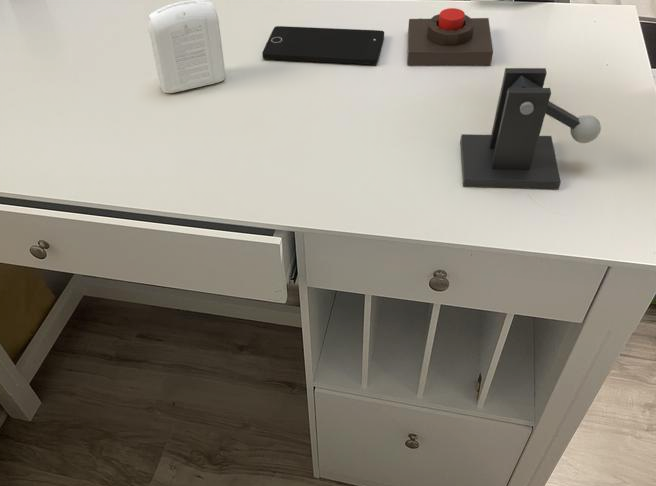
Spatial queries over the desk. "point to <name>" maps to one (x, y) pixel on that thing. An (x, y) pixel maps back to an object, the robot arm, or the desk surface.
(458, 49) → the brown button base
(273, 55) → the cell phone
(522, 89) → the pivot bracket stand
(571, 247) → the desk surface
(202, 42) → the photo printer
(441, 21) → the power button
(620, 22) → the desk surface
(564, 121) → the lever switch
